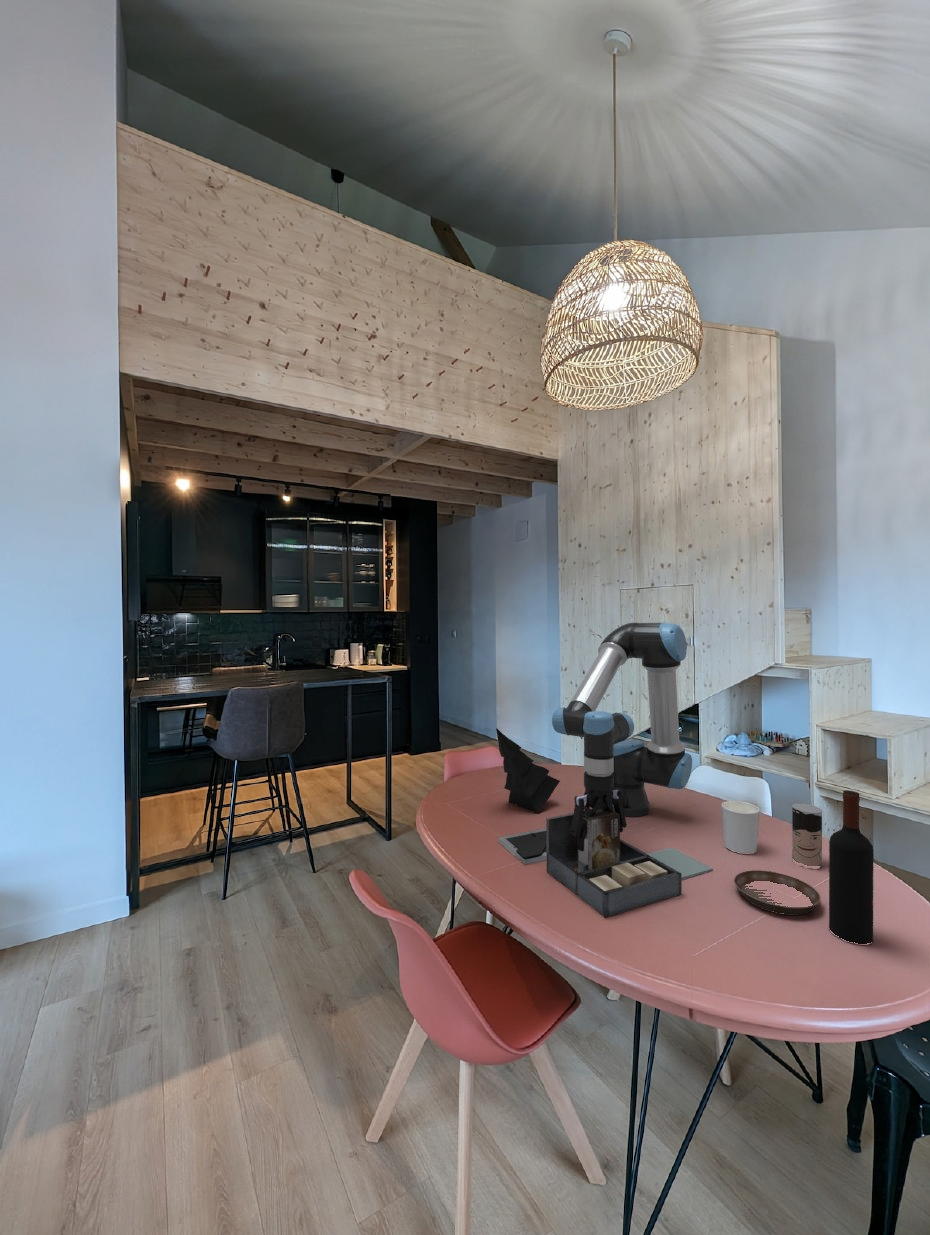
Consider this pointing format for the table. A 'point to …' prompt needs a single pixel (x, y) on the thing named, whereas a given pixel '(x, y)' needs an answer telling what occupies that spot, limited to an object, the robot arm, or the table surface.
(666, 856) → the pad
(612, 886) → the offcut
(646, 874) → the offcut
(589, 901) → the open divided box
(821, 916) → the table surface
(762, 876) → the plant saucer
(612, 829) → the coffee box
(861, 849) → the wine bottle
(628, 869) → the block
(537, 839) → the picture frame
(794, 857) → the cup
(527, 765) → the decorative tree
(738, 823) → the candle holder
